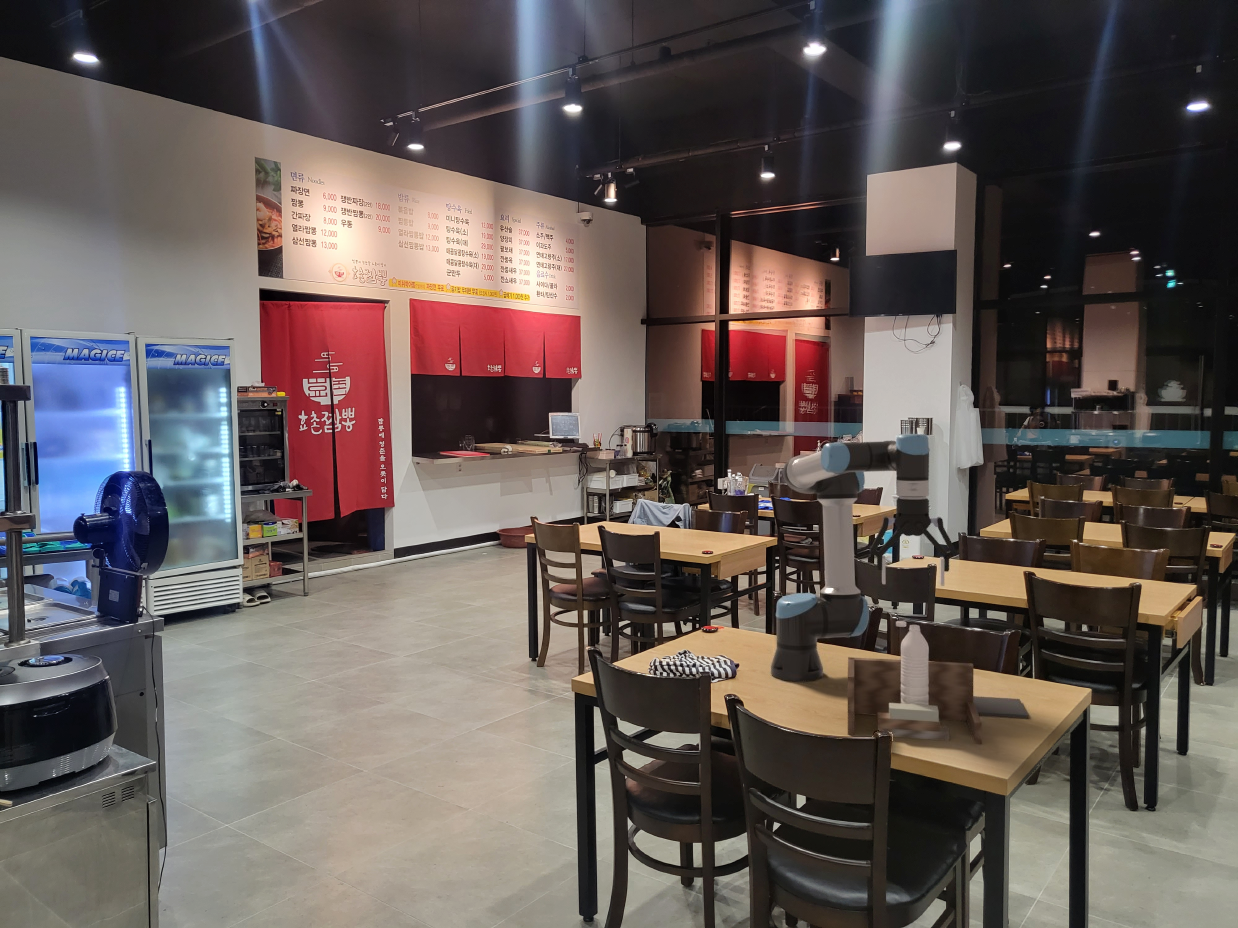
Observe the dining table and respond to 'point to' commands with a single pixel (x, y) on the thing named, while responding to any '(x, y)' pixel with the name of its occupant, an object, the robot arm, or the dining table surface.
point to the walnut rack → (882, 685)
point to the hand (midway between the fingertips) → (912, 584)
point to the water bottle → (914, 667)
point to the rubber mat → (1000, 707)
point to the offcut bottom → (920, 733)
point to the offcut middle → (906, 723)
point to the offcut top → (913, 712)
